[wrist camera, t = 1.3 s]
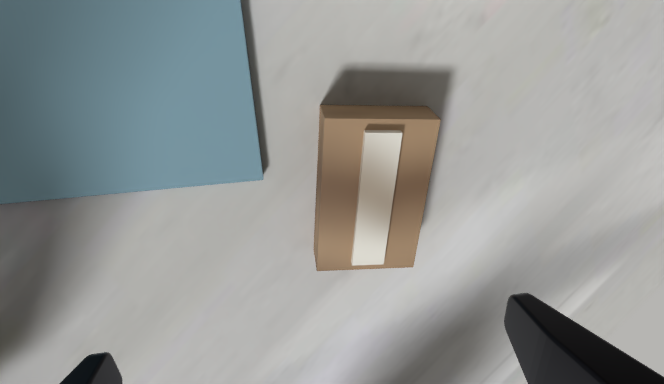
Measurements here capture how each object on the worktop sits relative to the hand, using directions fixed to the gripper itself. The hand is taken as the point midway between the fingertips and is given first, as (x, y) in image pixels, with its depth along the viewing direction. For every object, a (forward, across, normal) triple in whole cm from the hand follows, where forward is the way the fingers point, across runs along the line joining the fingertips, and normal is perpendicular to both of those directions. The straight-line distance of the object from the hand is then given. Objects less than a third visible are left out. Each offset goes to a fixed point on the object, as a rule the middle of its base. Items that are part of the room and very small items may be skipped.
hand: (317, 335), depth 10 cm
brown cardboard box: (+12, -3, +3) cm, 13 cm away
